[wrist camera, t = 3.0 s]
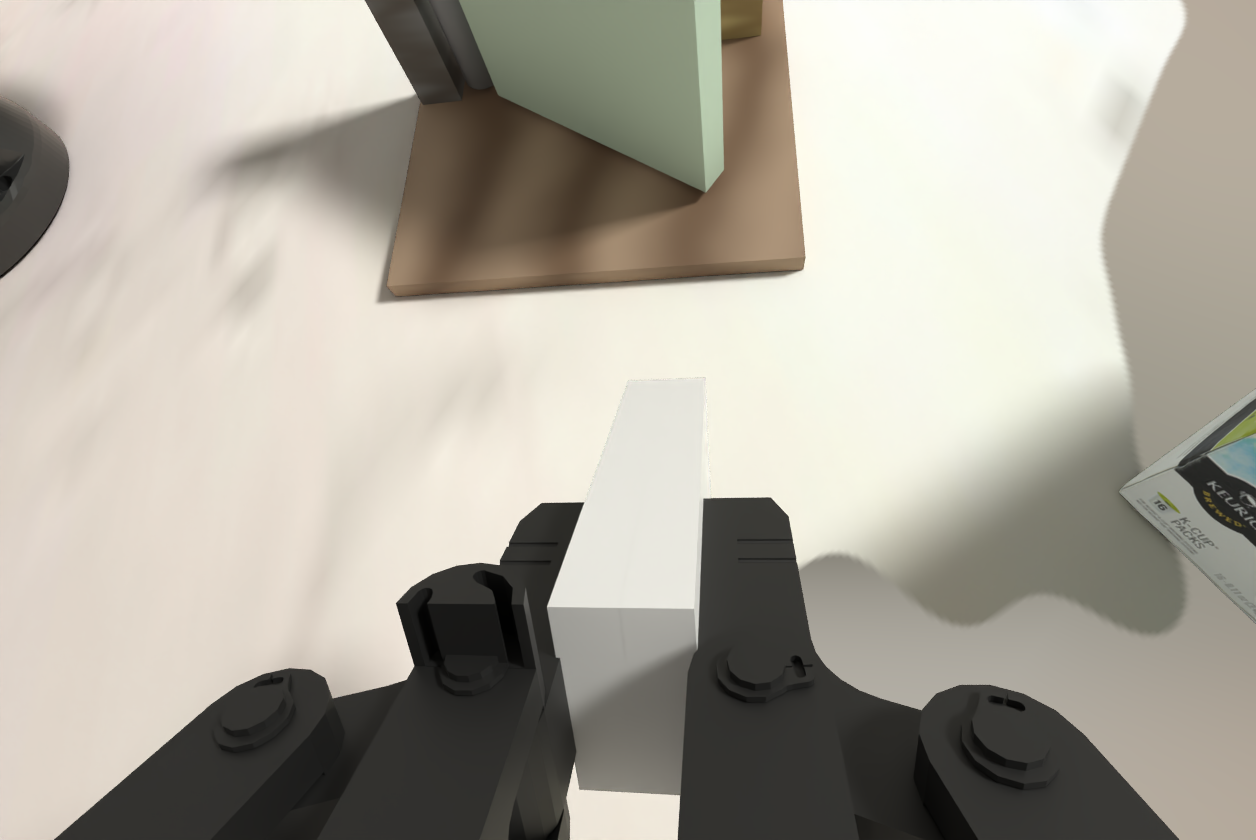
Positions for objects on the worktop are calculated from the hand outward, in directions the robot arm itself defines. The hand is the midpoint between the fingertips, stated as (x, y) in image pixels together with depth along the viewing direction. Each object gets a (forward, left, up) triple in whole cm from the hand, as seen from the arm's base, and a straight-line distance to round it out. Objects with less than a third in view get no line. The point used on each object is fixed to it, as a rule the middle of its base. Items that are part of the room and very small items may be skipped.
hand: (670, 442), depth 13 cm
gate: (-22, +10, -14) cm, 27 cm away
